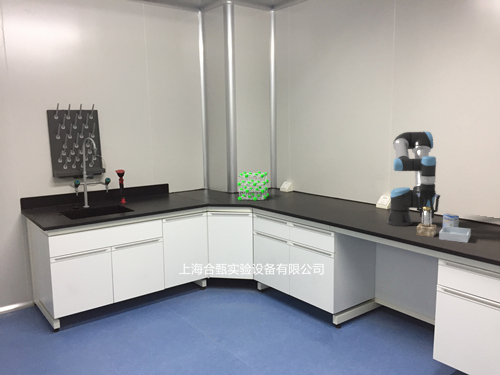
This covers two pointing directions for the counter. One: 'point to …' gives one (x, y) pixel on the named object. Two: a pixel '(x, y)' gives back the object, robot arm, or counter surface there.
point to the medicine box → (450, 220)
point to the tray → (455, 234)
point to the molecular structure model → (254, 183)
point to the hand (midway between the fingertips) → (426, 223)
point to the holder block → (426, 230)
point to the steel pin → (426, 216)
